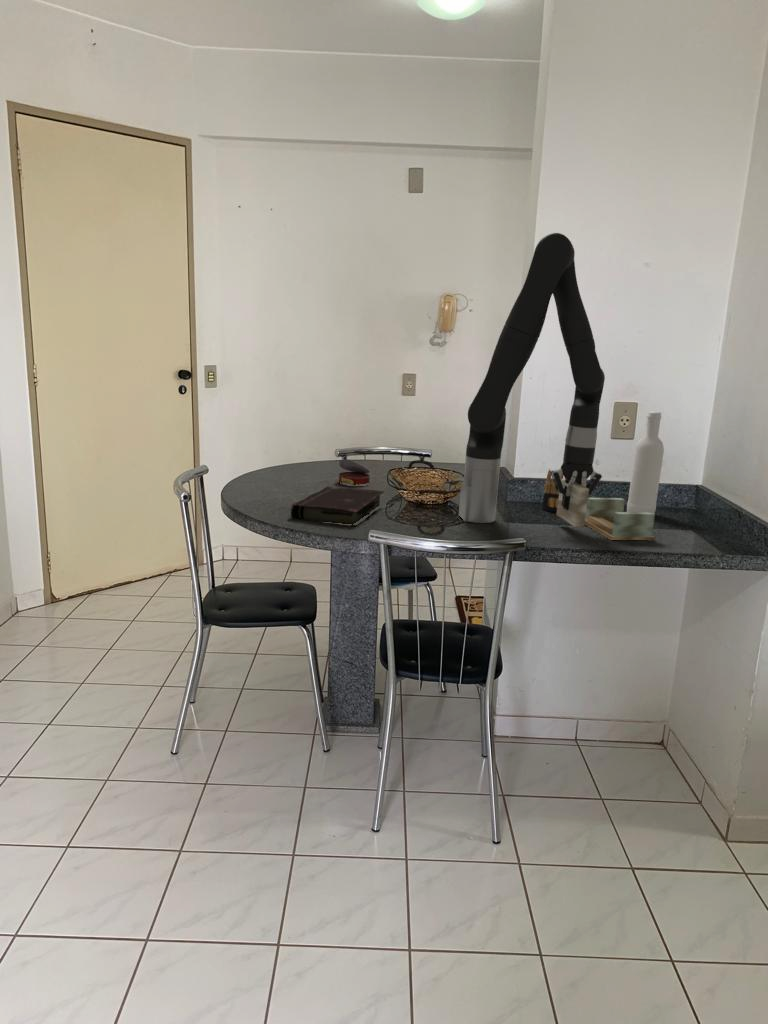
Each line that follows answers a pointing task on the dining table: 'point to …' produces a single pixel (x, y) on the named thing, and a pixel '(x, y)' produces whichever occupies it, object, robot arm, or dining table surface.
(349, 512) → the diary
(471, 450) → the robot arm
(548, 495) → the ammunition clip
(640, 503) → the bottle
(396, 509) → the dining table surface
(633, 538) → the slat holder
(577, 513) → the ash slat
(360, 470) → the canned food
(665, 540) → the dining table surface
